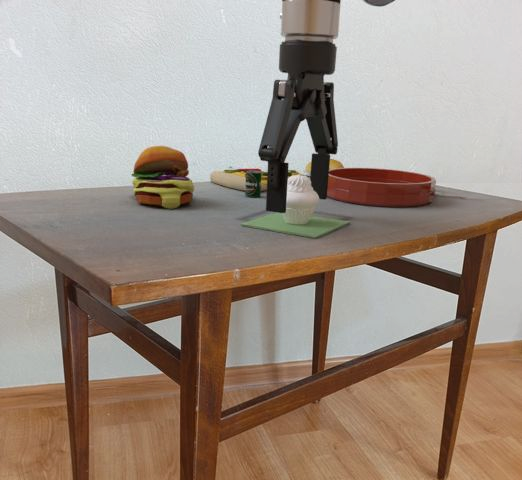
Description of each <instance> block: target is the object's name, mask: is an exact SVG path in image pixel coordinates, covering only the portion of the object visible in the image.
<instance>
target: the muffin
mask: <svg viewBox="0 0 522 480" xmlns="http://www.w3.org/2000/svg"><path fill="white" fill-rule="evenodd" d="M300 174H301V173H300ZM300 174H298V175H294V176H291V177H289V178H288V183H287V200H286V213H282V215H283V218H284V220H285V222H286V223H288V224H294V225H303V224H307V222H308V221H309V219H310V217H311V216H313V214H314V212H315V211H316V209H317V206H318V204H319V202H320V199H319V196H318V194H317V193H316V192H315V191H314V190H313V187H312V186H311V180H310V178H309V177H307V175H304V176H302V175H300Z"/></svg>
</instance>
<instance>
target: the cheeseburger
mask: <svg viewBox="0 0 522 480" xmlns="http://www.w3.org/2000/svg"><path fill="white" fill-rule="evenodd" d="M133 165H134V166H133V173H131V177H134V178H133V179H132V185H133V196H134V197H136V201H137V203H138V204H139V205H140V204H142V205H151V206H161V207H162V208H165V209H168V210H173V209H176V208H179V207H180V205H184V204H187V203H189V202H191V201H193V198H194V197H193V196H194V191H195V184H194V182H193V180H192V179H191V178H190V177H188V176H189V175H190V171H189V162H188V160H187V157H186V155H185V154H184V152H182V151H180V150H177V149H175V148H172V147H169V146H167V145H153V146H149V147H147V148H145V149H144V150H143V151H142V152H141V153H140V154H139V156H138V157H137V159H136V161H135V163H134V164H133Z"/></svg>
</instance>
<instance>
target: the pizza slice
mask: <svg viewBox="0 0 522 480" xmlns="http://www.w3.org/2000/svg"><path fill="white" fill-rule="evenodd" d="M250 170H254V171H260V172H261V192H264V191H267V173H268V170H267V171H264V170H263V171H262V169H261V168H237V169H224V170H223V171H221V170H214V171H212V172H211V173H210V175H209V180H210V182H212V183H214V184H216V185H220V186H222V187H226V188H229V189H233V190H239V191H242V192H243V191H244V192H245V185H246V173H247V171H250ZM298 174H300V175H302V176H305V174H302V173H300V172H299V171H296V170H295V169H288V178H289V177H291V176H294V175H298Z"/></svg>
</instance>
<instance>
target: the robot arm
mask: <svg viewBox="0 0 522 480" xmlns="http://www.w3.org/2000/svg"><path fill="white" fill-rule="evenodd" d="M362 1H363V2H364V3H365V4H367V5H369V6H372V7H378V8H379V7H385V6H387V5H390V4H392V3H394V2H395V1H396V0H362ZM341 2H342V1H341V0H281V3H282V4H281V12H280V13H279V18H280V20H281V21H280V35H281V36H282V38H284V41H281V43H280V44H279V56H278V70H279V72H280V73H282V74H287V79H274V81H273V90H272V97H271V98H272V99H271V102H270V106H269V110H268V113H267V117H266V121H265V125H264V129H263V134H262V137H261V140H260V144H259V148H258V153H257V155H258V157H259V159H260V161H262V162H267V171H268V173H267V190H266V198H265V199H266V200H265V211H266V212H272V213H276V212H278V213H286V200H287V183H288V170H289V162H285V161H286V159H287V156H288V155H289V152H290V149H291V147H292V144H293V142H294V139H295V137H296V134H297V132H298V129H299V127H300V124H301V123H302V122H303V121H306V123H307V127H308V130H309V135H310V138H311V141H312V145H313V148H314V151H315V152H314V153H311V159H310V160H311V161H310V162H311V174H309V176H310V178H309V179H310V180H311V186H312V187H313V190H314V191H315V192H316V193H317V194H318V196H319V200H325V201H326V200H327V199H328V196H327V189H328V177H329V165H330V159H331V155H334V156H335V155H337V154H338V146H339V140H338V131H337V130H338V129H337V119H336V110H335V101H334V97H335V95H334V93H335V83H334V82H332V81H331V82H330V81H325V78H324V77H325V76H330V75H333V74H334V73H335V71H336V63H337V62H336V61H337V49H338V47H337V46H336V43H334V40H337V39H338V37H339V32H340V17H341Z"/></svg>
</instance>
